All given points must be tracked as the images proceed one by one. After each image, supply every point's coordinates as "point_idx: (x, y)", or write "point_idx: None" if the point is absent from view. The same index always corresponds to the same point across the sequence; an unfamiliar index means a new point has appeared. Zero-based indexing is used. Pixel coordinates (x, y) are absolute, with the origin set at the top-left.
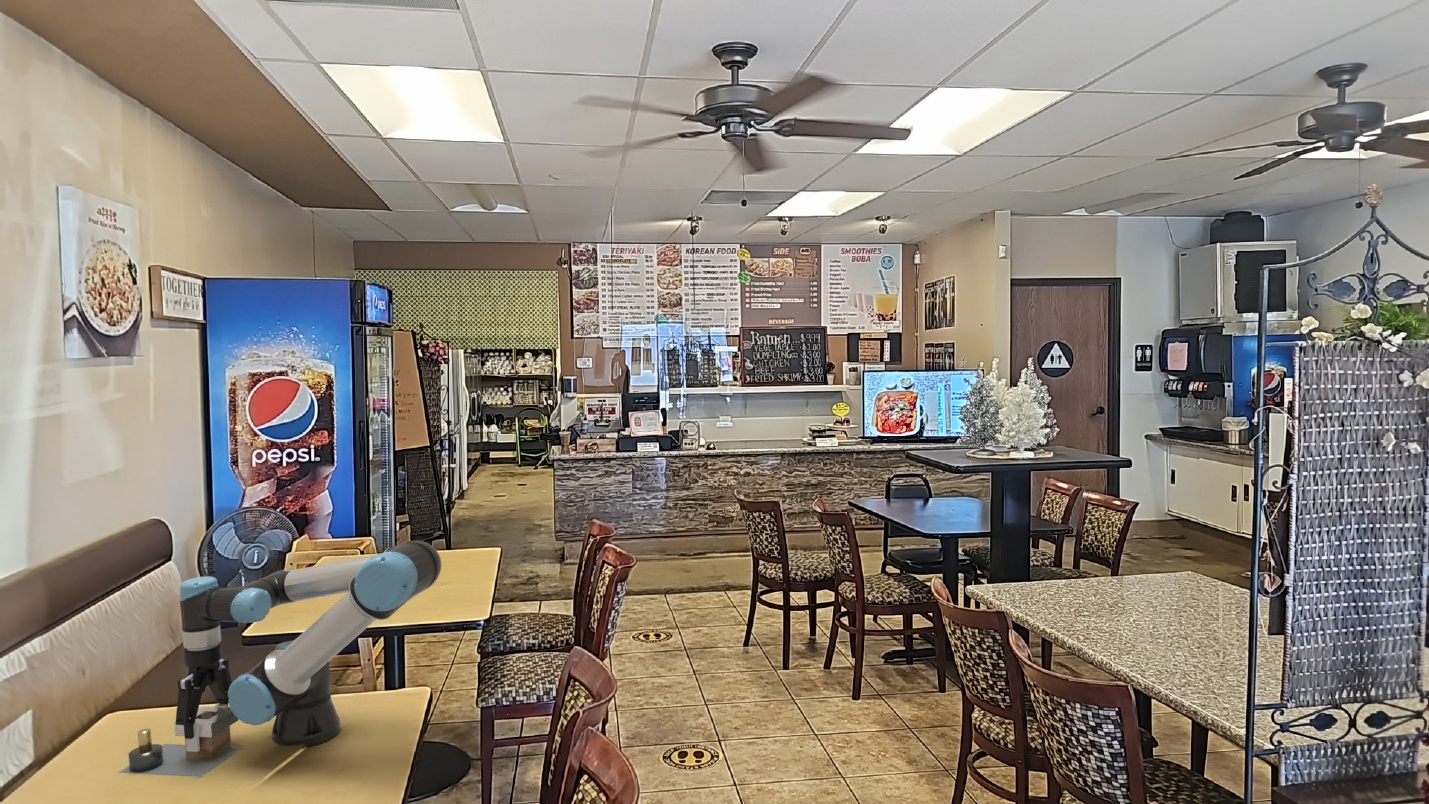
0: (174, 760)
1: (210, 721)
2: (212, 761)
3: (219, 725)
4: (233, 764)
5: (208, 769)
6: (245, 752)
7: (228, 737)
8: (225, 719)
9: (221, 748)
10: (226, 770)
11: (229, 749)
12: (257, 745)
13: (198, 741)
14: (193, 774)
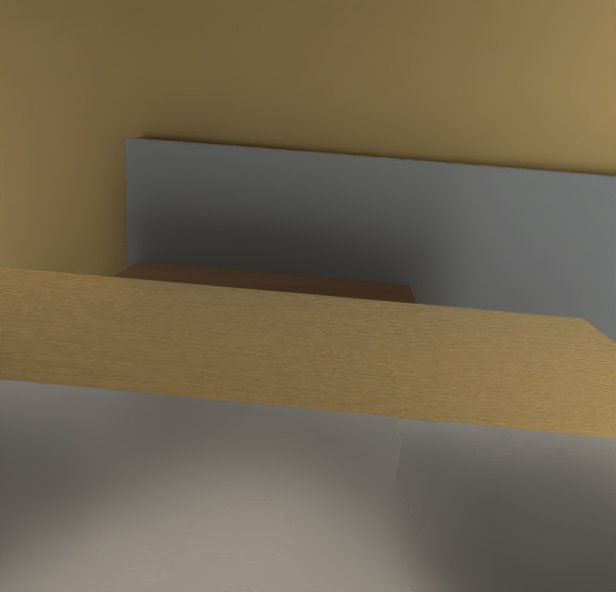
0: None
1: (534, 566)
2: (435, 265)
3: (377, 343)
4: (405, 67)
5: (612, 201)
6: (154, 102)
7: None
8: (152, 342)
9: (264, 286)
10: (532, 60)
11: (183, 249)
12: (2, 68)
13: None
14: None
